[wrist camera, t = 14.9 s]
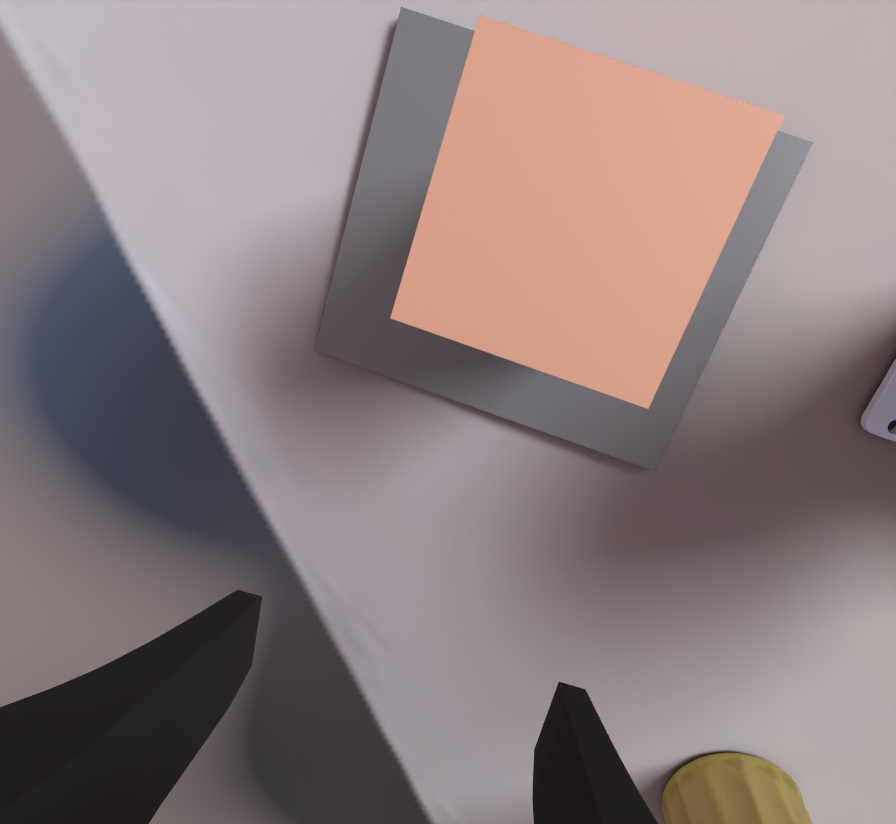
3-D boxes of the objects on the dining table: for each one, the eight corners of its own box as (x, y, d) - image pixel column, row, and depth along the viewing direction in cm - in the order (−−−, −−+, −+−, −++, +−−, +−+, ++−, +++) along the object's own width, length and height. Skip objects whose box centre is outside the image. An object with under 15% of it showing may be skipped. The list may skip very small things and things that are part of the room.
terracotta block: (685, 172, 13) (784, 115, 8) (604, 362, 14) (648, 409, 10) (493, 107, 13) (479, 15, 8) (431, 301, 15) (390, 317, 10)
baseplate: (803, 147, 18) (816, 141, 17) (650, 465, 21) (655, 473, 20) (404, 15, 18) (399, 4, 17) (319, 348, 21) (311, 351, 21)
